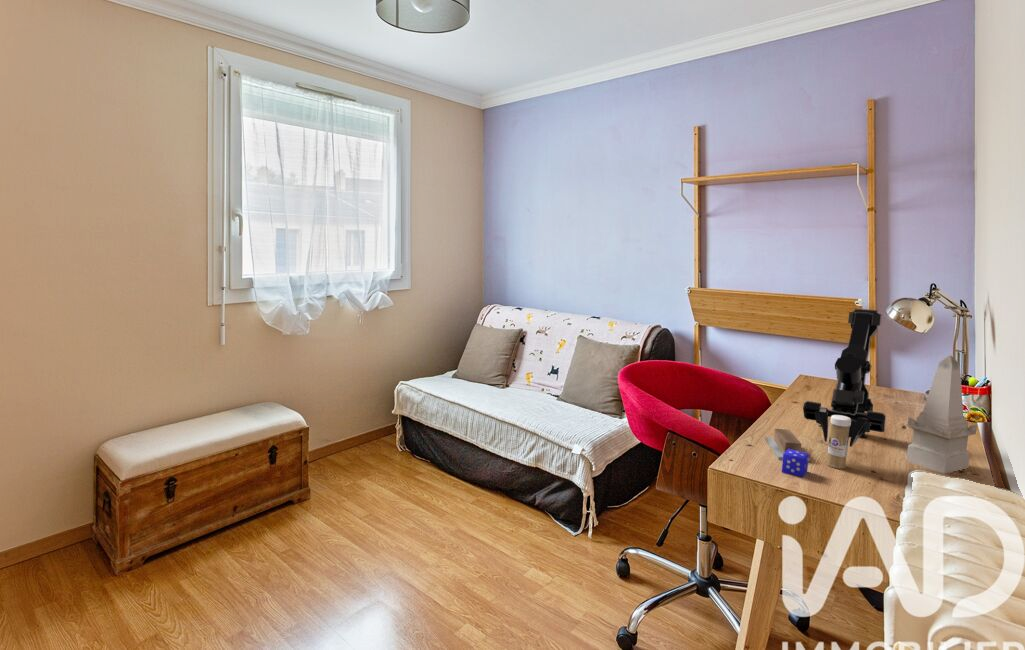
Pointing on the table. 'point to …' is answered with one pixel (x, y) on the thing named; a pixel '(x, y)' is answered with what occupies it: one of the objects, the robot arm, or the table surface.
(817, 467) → the table surface
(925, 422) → the miniature monument
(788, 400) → the table surface
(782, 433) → the ridge
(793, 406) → the table surface
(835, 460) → the spice jar
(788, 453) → the die
